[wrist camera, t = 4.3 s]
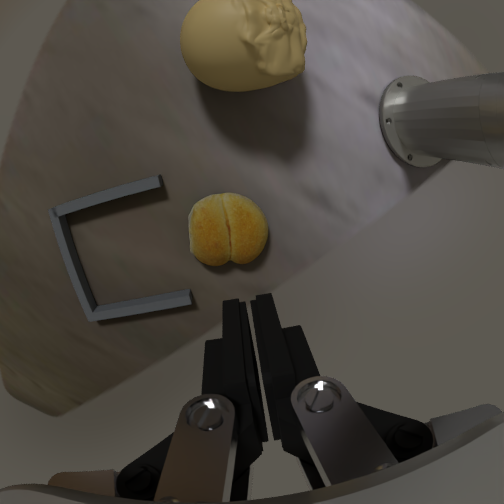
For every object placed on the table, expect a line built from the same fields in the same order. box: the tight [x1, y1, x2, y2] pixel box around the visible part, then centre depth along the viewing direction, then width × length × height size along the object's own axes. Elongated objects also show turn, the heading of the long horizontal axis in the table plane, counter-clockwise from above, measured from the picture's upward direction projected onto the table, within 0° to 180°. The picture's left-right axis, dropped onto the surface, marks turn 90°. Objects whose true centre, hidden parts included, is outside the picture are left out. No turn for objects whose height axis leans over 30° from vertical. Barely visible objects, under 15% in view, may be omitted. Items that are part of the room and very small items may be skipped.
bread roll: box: [188, 193, 268, 266], centre depth 32 cm, size 8×9×4 cm
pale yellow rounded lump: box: [180, 0, 307, 92], centre depth 22 cm, size 12×12×11 cm
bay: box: [48, 175, 192, 322], centre depth 32 cm, size 15×15×2 cm
